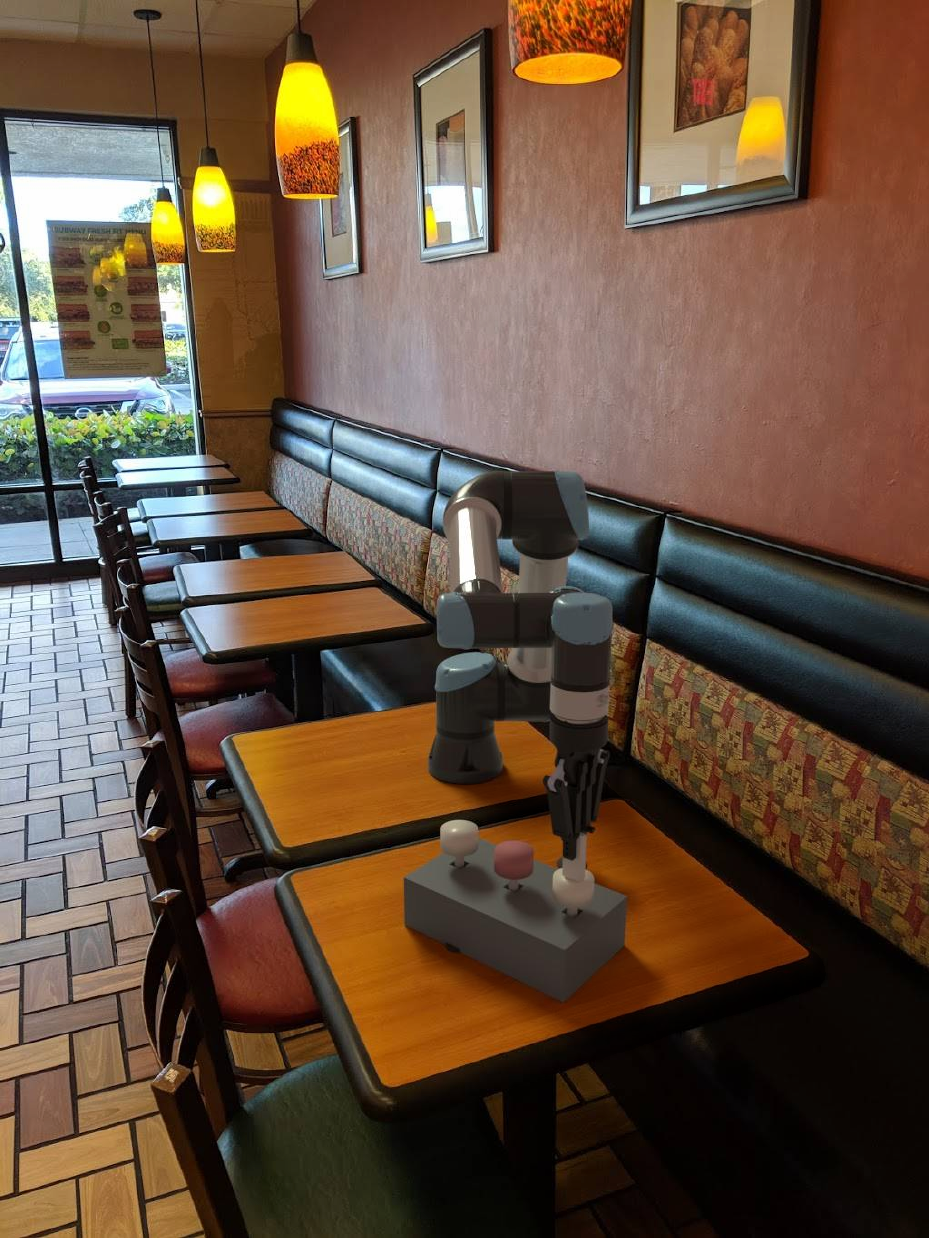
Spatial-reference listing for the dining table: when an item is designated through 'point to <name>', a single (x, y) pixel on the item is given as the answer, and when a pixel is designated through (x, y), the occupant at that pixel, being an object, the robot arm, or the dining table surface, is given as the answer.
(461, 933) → the control box
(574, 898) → the cream knob
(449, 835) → the cream knob
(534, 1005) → the dining table surface
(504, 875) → the pink knob
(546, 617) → the robot arm
